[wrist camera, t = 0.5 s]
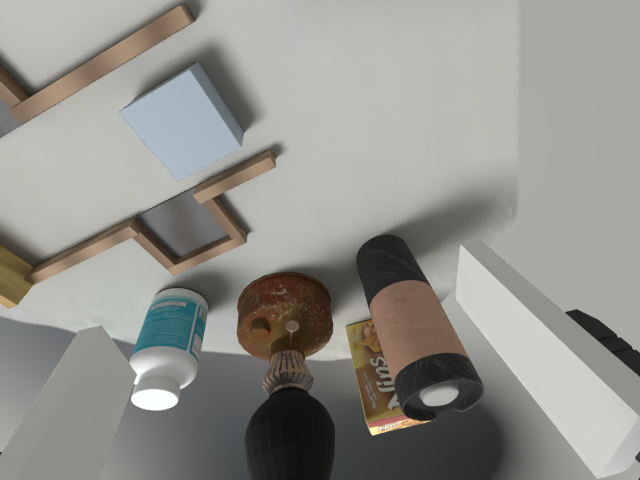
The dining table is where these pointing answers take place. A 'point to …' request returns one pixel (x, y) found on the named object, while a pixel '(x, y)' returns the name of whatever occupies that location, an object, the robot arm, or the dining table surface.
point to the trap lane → (152, 225)
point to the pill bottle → (168, 348)
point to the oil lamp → (287, 377)
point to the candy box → (375, 380)
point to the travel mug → (415, 333)
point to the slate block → (184, 122)
